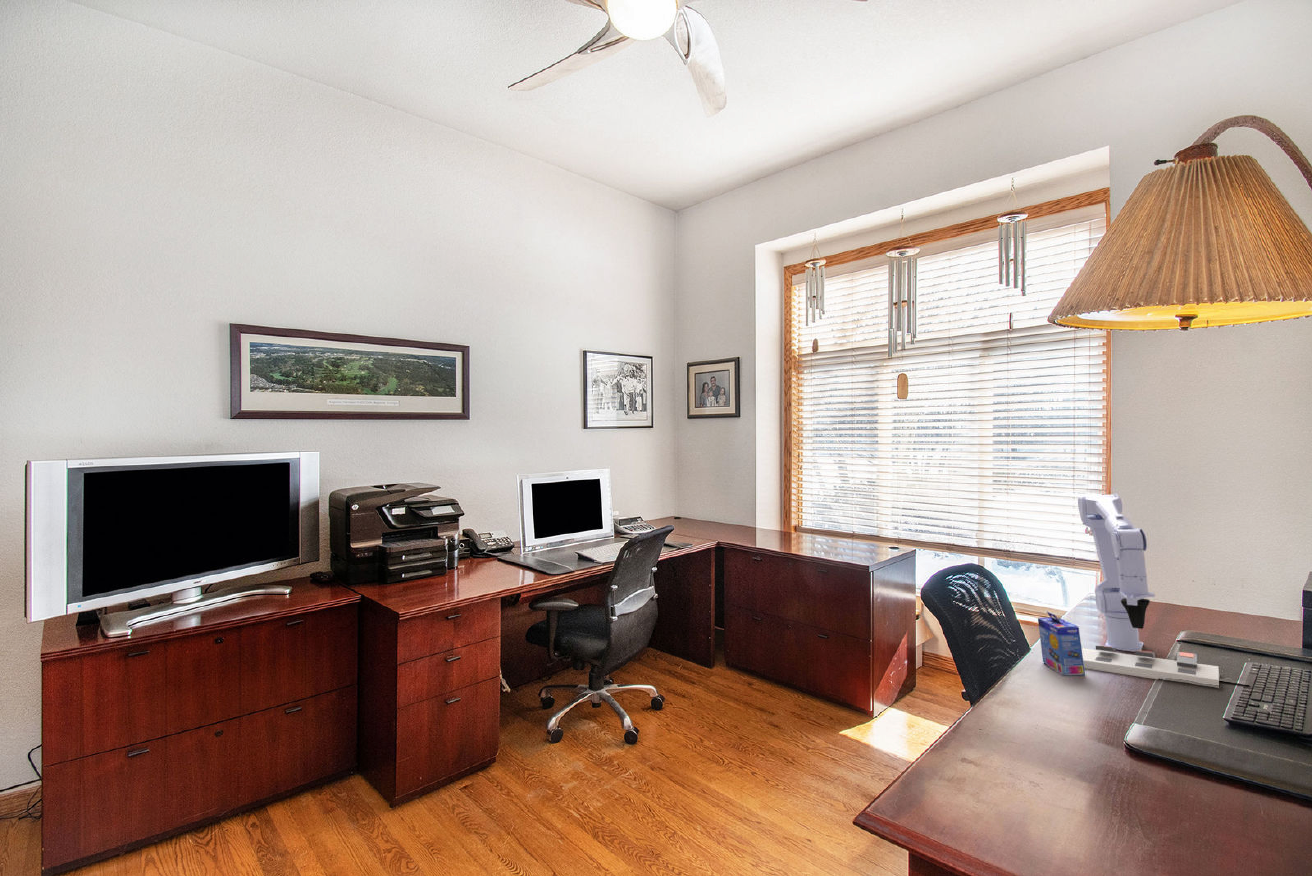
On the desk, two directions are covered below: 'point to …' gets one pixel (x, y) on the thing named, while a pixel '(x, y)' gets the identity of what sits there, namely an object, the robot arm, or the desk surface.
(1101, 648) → the rocker far end
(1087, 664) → the power strip
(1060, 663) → the ink cartridge box
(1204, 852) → the desk surface
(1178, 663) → the block
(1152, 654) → the rocker middle
